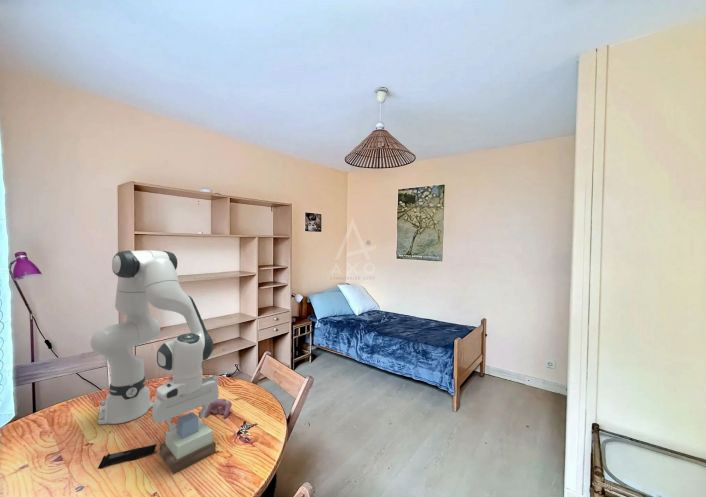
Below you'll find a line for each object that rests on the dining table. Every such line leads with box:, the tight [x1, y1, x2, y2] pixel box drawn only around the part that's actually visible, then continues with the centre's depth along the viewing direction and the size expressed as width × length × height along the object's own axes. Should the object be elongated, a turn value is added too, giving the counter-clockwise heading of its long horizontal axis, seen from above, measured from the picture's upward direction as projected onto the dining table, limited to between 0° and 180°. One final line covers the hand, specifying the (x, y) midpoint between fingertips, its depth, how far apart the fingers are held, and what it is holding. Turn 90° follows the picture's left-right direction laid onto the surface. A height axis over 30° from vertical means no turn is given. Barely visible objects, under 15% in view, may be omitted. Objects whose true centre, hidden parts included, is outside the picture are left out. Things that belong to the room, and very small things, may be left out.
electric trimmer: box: [97, 443, 158, 469], centre depth 97 cm, size 4×16×3 cm, turn 116°
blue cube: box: [176, 411, 200, 439], centre depth 99 cm, size 5×5×5 cm
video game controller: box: [204, 398, 233, 419], centre depth 123 cm, size 10×5×7 cm, turn 86°
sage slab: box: [164, 418, 214, 460], centre depth 100 cm, size 11×11×4 cm
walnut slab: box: [159, 440, 216, 475], centre depth 100 cm, size 13×13×4 cm
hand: (187, 423), depth 99 cm, fingers open, 8 cm apart
